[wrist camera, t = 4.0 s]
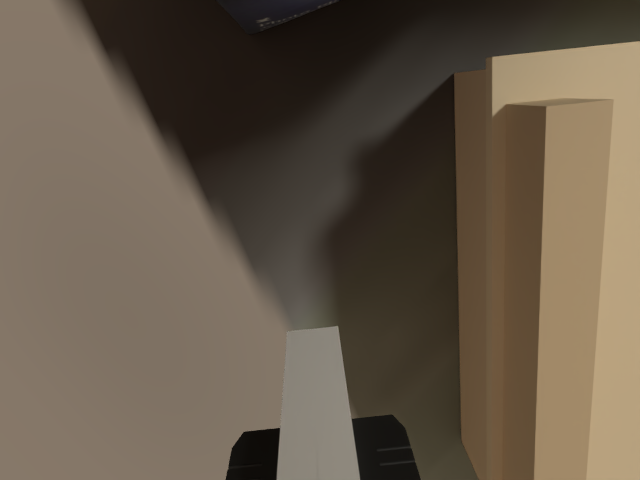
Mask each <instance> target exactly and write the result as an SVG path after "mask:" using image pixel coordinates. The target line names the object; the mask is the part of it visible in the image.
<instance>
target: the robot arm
mask: <svg viewBox="0 0 640 480" xmlns="http://www.w3.org/2000/svg"><path fill="white" fill-rule="evenodd" d="M283 383H284V384H283V397H282V411H281V425H280V428H276V429H266V430H257V431H248V432H244V433H243V434H242V435H241V437H240V438H239V439H238V441H237V442H236V443H235V445H234V446H233V448H232V451H231V456H230V461H229V470H228V471H227V476H226V480H421V479H420V476H419V472H418V469H417V466H416V463H415V459H414V456H413V452H412V449H411V447H410V442H409V439H408V436H407V432H406V429H405V427H404V426H403V425H402V424H401V423H400V422H399V421H398V420H397V419H396V418H395V417H394V416H393V415H384V416H375V417H366V418H356V419H351V413H350V406H349V399H348V392H347V385H346V378H345V371H344V364H343V357H342V350H341V344H340V337H339V330H338V326H334V327H325V328H315V329H306V330H297V331H287V340H286V354H285V369H284V382H283Z"/></svg>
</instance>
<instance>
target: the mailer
mask: <svg viewBox="0 0 640 480" xmlns="http://www.w3.org/2000/svg"><path fill="white" fill-rule="evenodd" d="M454 96H455V146H456V197H457V247H458V298H459V348H460V398H461V441H462V443H463V446H464V448H465V450H466V452H467V454H468V457H469V459H470V461H471V463H472V466H473V468H474V470H475V472H476V474H477V477H478V479H479V480H487V414H486V69H484V70H476V71H468V72H459V73H454Z"/></svg>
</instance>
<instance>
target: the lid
mask: <svg viewBox="0 0 640 480" xmlns="http://www.w3.org/2000/svg"><path fill="white" fill-rule="evenodd" d="M486 414H487V480H640V41H637V42H628V43H618V44H609V45H599V46H590V47H581V48H571V49H562V50H552V51H543V52H534V53H524V54H515V55H505V56H496V57H489V58H486Z"/></svg>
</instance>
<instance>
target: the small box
mask: <svg viewBox="0 0 640 480" xmlns="http://www.w3.org/2000/svg"><path fill="white" fill-rule="evenodd" d="M216 1H217V2H218V3H219V4H220V5H221V6H222V7H223V8H224V9H225V10H226V11H227V12H228V13H229V14H230V16H231V17H232V18H233V19H234V20H235V21H236V22H237V23H238V24H239V25H240V26H241V27H242V28H243V30H244V31H245V32H246V33H247V34H249V35H250V34H255V33H258V32H261V31H264V30H267V29H269V28H272V27H274V26H277V25H279V24H282V23H284V22H287V21H290V20H292V19H295V18H297V17H300V16H302V15H305V14H307V13H310V12H312V11H315V10H317V9H320V8H322V7H325V6H327V5H330V4H333V3H335V2H338V1H340V0H216Z"/></svg>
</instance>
